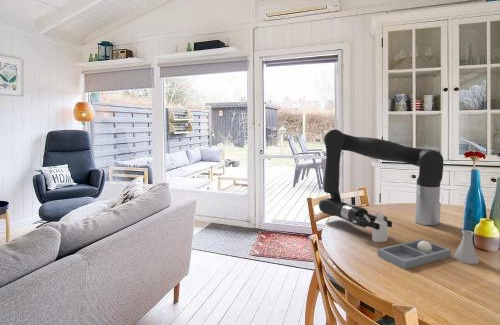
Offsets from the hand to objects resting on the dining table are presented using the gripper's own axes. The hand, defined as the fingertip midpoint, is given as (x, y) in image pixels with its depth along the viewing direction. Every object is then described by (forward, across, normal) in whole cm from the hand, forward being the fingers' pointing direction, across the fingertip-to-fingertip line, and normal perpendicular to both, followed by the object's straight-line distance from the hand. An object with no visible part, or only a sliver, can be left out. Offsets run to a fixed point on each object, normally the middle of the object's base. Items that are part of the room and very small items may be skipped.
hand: (385, 225), depth 117 cm
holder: (+14, -1, +7) cm, 15 cm away
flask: (+23, +12, +7) cm, 26 cm away
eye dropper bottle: (-2, 0, +7) cm, 8 cm away
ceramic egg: (+14, +4, +6) cm, 15 cm away
